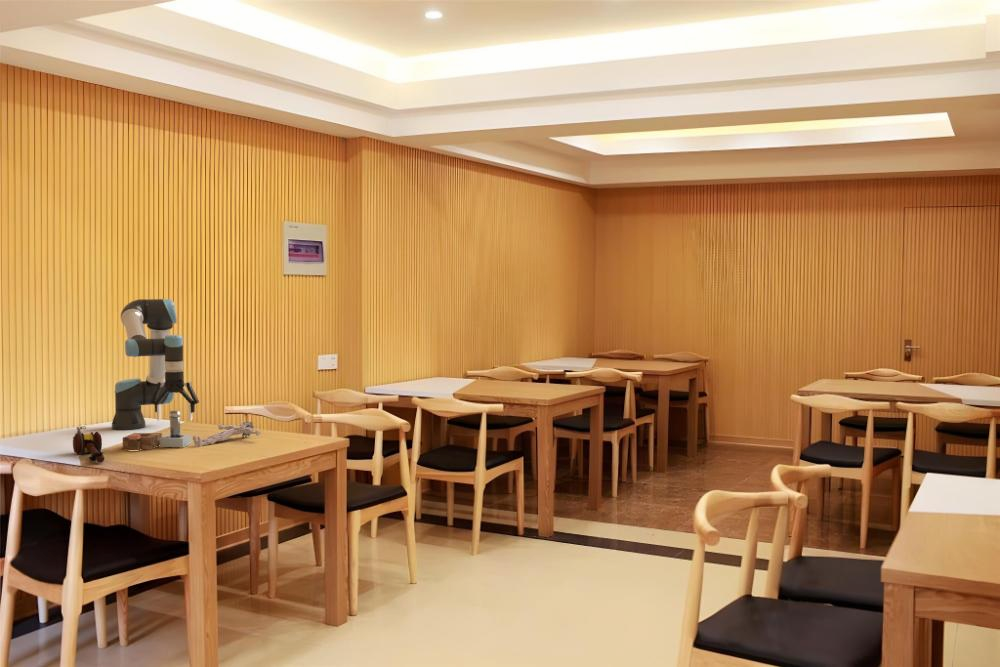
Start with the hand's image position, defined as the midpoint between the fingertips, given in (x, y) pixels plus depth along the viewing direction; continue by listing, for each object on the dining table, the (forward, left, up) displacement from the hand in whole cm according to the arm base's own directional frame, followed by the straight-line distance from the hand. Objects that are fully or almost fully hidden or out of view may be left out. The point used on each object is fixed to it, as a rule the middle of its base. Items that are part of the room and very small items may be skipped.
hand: (175, 420), depth 385 cm
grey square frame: (0, 0, -11) cm, 11 cm away
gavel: (+26, -24, -12) cm, 37 cm away
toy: (-11, +18, -12) cm, 24 cm away
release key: (+11, -13, -10) cm, 20 cm away
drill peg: (0, 0, -11) cm, 11 cm away
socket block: (+5, -13, -11) cm, 18 cm away
